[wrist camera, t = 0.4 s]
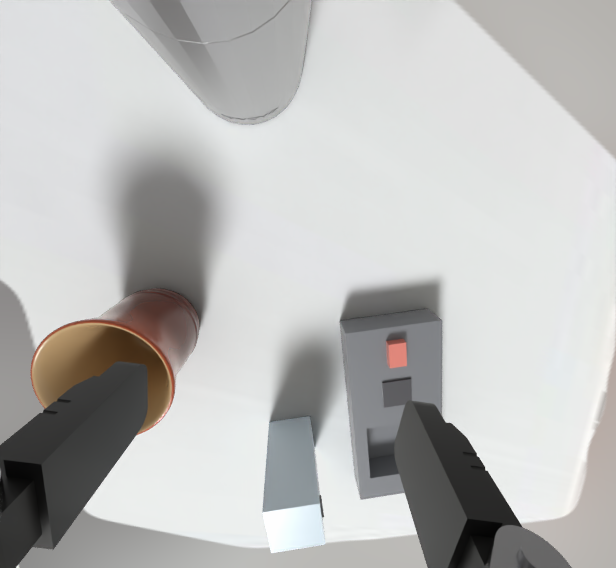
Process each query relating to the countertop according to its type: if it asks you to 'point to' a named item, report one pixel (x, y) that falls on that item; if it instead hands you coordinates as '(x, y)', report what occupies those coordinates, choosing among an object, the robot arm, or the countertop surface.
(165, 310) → the mug
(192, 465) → the countertop surface
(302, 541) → the block
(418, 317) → the power strip
